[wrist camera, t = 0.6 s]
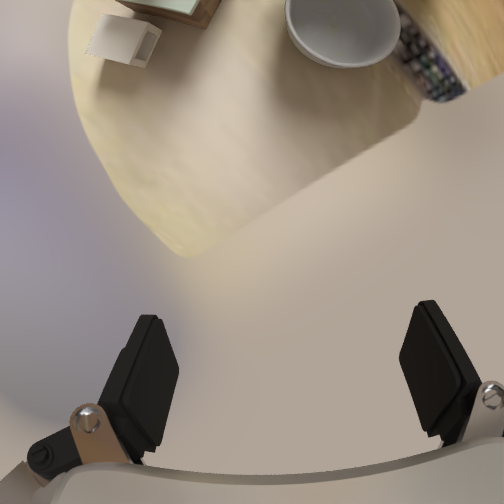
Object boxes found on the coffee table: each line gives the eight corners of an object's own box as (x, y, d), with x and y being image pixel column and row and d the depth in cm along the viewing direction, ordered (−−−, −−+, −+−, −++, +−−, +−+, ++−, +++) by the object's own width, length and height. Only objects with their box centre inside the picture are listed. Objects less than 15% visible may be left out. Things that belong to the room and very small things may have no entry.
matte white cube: (121, 21, 26) (102, 13, 21) (162, 31, 27) (147, 22, 22) (105, 57, 28) (85, 53, 24) (145, 68, 29) (128, 64, 25)
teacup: (387, 60, 27) (418, 53, 20) (305, 86, 30) (317, 82, 23) (336, -36, 22) (353, -63, 15) (252, -13, 24) (248, -41, 17)
